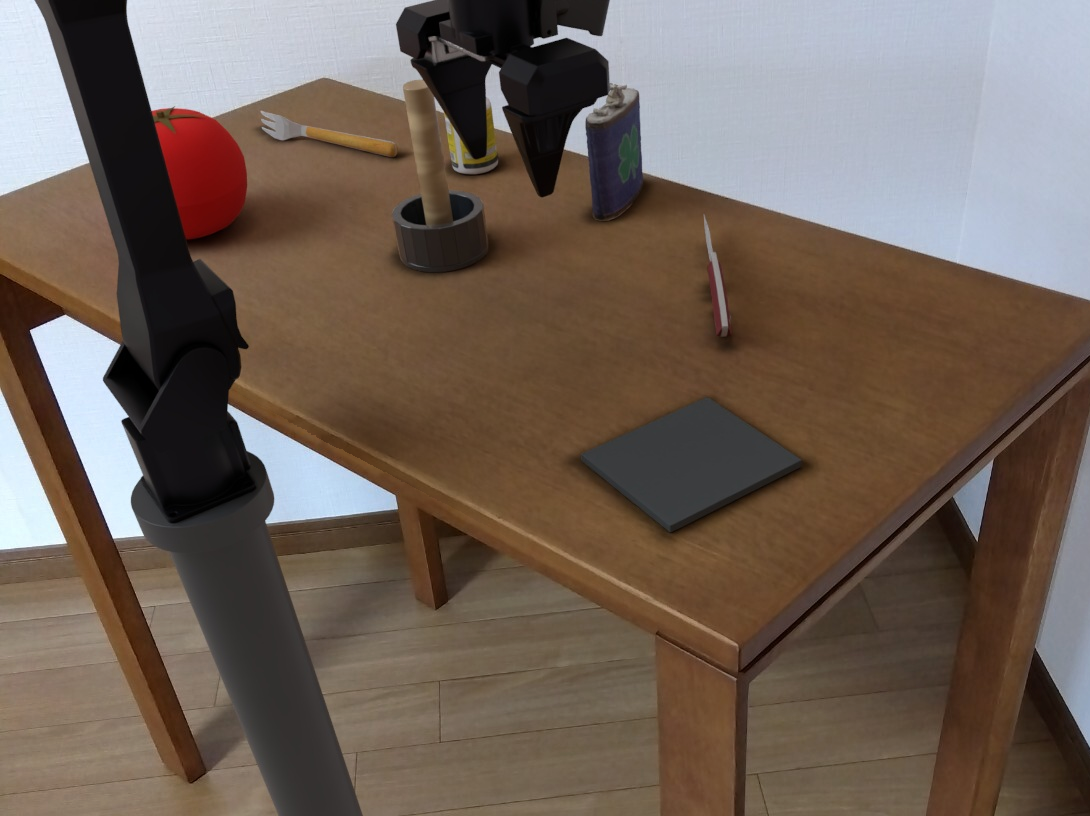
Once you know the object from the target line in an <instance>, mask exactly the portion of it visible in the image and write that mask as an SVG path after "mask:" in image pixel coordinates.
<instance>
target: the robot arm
mask: <svg viewBox="0 0 1090 816" xmlns="http://www.w3.org/2000/svg"><path fill="white" fill-rule="evenodd" d="M34 2H35V4H36V6H37V8H38V9H39V11H40V14H41V16H42V18H43V20H44V22H45V25H46V29H47V32H48V35H49V37H50V42H51V45H52V47H53V51H54V53H55V57H56V60H57V63H58V67H59V70H60V73H61V76H62V79H63V82H64V86H65V89H66V92H67V96H68V99H69V102H70V105H71V108H72V111H73V114H74V118H75V121H76V123H77V127H78V131H79V134H80V137H81V140H82V144H83V147H84V149H85V153H86V156H87V159H88V162H89V165H90V169H91V172H92V175H93V179H94V182H95V185H96V188H97V192H98V194H99V198H100V201H101V205H102V207H103V210H104V214H105V217H106V220H107V223H108V227H109V231H110V233H111V236H112V239H113V243H114V245H115V248H116V252H117V258H118V269H117V283H116V300H117V301H116V302H117V308H118V316H119V324H120V332H121V338H122V341H121V343H120V345H119V347H118V349H117V351H116V353H115V354H114V355H113V358H112V360H111V361H110V363H109V366H108V368H107V369H106V371H105V373H104V375H103V376H102V382H103V383H104V385H105V386H106V388H107V389H108V390H109V392H110V393H111V394H112V396H113V397H114V399H115V400H116V401H117V403H118V404H119V405H120V407H121V408H122V410H123V411H124V413H125V414H126V416H127V417H125V418H123V419H121V420H120V423H121V425H122V428H123V430H124V432H125V434H126V437H127V439H128V442H129V445H130V447H131V449H132V452H133V454H134V457H135V459H136V461H137V464H138V466H139V469H140V471H141V473H142V475H141V477H140V479H141V482H142V485H143V486H144V488H145V489H146V490H147V492H148V493H149V495H150V496H151V498H152V499H153V501H154V502H155V504H156V505H157V507H158V508H159V509H160V511H161V512H162V514H163V515H164V517H165V518H166V520H167V521H168V522H169V523H177V522H180V521H182V520H185V519H187V518H190V517H192V516H194V515H197V514H199V513H202V512H204V511H207V510H209V509H211V508H214V507H216V506H219V505H221V504H224V503H226V502H228V501H231V500H233V499H236V498H238V497H240V496H243V495H245V494H248V493H250V492H252V491H254V490H255V489H256V484H255V481H254V480H253V479H252V478H251V476H250V475H249V474H248V473H247V471H248V470H250V468H251V463H250V460H249V457H248V454H247V451H248V450H247V448H246V445H245V441H244V438H243V436H242V432H241V429H240V427H239V424H238V421H237V420H236V418H234V417H233V415H232V414H231V413H230V412H229V411H228V409H229V408H228V407H229V397H230V396H229V394H230V390H231V388H232V387H233V385H234V384H235V381H236V380H239V378H240V376H241V371H242V358H241V357H242V356H241V352H240V350H241V349H242V350H247V349H249V347H250V346H249V344H248V342H247V341H246V340H245V338H244V337H243V336H242V333H241V331H240V329H239V328H240V327H239V326H238V318H237V305H236V298H235V294H234V290H233V289H232V288H231V287H230V286H229V285H228V284H227V283H226V282H225V281H224V280H223V279H222V278H221V277H220V276H219V275H218V274H217V273H216V272H214V270H213V269H211V267H209V266H208V265H207V264H206V263H205V262H204V260H202V258H198V259H196V260H193V258H192V256H191V252H190V248H189V245H188V242H187V241H188V240H187V239H186V237H185V234H184V230H183V226H182V222H181V219H180V215H179V211H178V208H177V204H176V200H175V196H174V193H173V189H172V185H171V182H170V178H169V174H168V170H167V167H166V163H165V159H164V155H163V152H162V148H161V144H160V141H159V137H158V133H157V129H156V126H155V122H154V118H153V115H152V111H153V110H152V108H151V104H150V100H149V97H148V93H147V92H148V91H147V89H146V85H145V81H144V77H143V74H142V70H141V67H140V62H139V59H138V56H137V52H136V51H137V50H136V47H135V44H134V41H133V37H132V33H131V30H130V24H129V21H128V10H127V9H128V8H127V7H128V0H34ZM610 2H611V0H429V1H425V2H421V3H417V4H414V5H410V6H406V7H404V8H403V10H402V11H401V14H400V15H399V17H398V19H397V21H396V23H395V27H396V29H395V30H396V33H397V39H398V47H399V50H400V53H403V54H405V55H407V56H408V57H411V58H410V64H411V67H412V68H413V69H415V70H416V71H417V73H418V74H419V76H420V77H421V80H424V82H425V83H426V85H427V86H428V88H429V89H430V91H431V92H432V94H433V96H434V99H435V101H437V103H438V105H439V107H440V108H441V109H442V111H443V114H444V113H445V114H446V116H447V117H448V119H449V121H450V122H451V124H452V126H453V127H454V129H455V131H456V132H457V134H458V136H459V137H460V139H461V141H462V142H463V144H464V145H465V147H466V149H467V150H468V152H469V154H470V155H471V157H472V158H473V159H475V160H477V159H480V158H483V157H485V156H486V154H487V114H486V97H487V86H486V78H487V75H488V74H489V71H490V70H491V67H492V65H493V66H495V67H497V68H499V71H498V77H499V85H500V92H501V94H502V95H503V97H504V99H505V101H506V103H507V105H506V104H505V105H503V106H502V107H501V109H502V113H503V115H504V118H505V119H506V122H507V125H508V127H509V130H510V132H511V135H512V137H513V140H514V142H515V145H516V148H517V150H518V152H519V154H520V157H521V160H522V162H523V165H524V167H525V169H526V173H527V175H528V177H529V179H530V182H531V185H532V186H533V188H534V191H535V192H536V194H537V196H538V197H540V198H546V197H548V196H552V195H553V193H554V191H555V187H556V184H557V179H558V175H559V172H560V167H561V162H562V158H563V155H564V150H565V146H566V143H567V139H568V136H569V133H570V130H571V127H572V124H573V122H574V120H575V119H576V118H577V116H578V115H579V113H581V112H582V110H584V109H586V108H589V107H591V106H594V105H595V104H596V102H597V101H598V99H600V98H603V97H607V96H608V94H609V93H610V91H611V90H610V83H611V81H610V65H609V64H610V62H609V60H608V59H607V58H606V57H605V56H604V55H603V54H601V53H600V52H599V51H598V50H597V49H596V48H593V47H591V46H589V45H586V44H584V43H581V42H579V41H577V40H574V39H571V38H569V37H564V38H560V39H557V40H553V41H549V42H546V43H542V44H539V45H535V39H543V40H544V39H548V38H552V37H556V36H559V30H558V29H559V27H558V26H560V27H565V28H571V29H575V30H581V31H586V32H588V33H589V34H590V35H592V36H596V37H602V36H603V35H604V30H605V25H606V20H607V16H608V11H609V7H610ZM533 45H535V46H533Z"/></svg>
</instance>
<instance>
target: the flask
mask: <svg viewBox="0 0 1090 816" xmlns="http://www.w3.org/2000/svg"><path fill="white" fill-rule="evenodd" d="M640 110H641V104H640V92H639V90H638V89H636V88H633V87H628V85H627V84H625V85H621V84H616V83H612V82H610V92H609V94H608V95H607V96H606V97H605V104H604V105H602V106H601V107H599V108H593V110H592V112H591V113H589V114H588V115H587V116H586V117H585V125H584V126H585V136H586V148H587V158H588V159H587V160H588V167H589V168H588V170H589V172H588V173H589V182H590V191H591V200H592V201H591V202H592V203H591V205H592V217H593V218H594V221H601V222H606V221H611V220H613V219H614V220H615V219H616V218H618V217H619V216H621V215H622V214H623V213H624V212H626V211H627V210H628V209H630V207H632V205H633V204H634V203H635V200H636V199H637V198H638V196H639V195H640V194H641V192H642V190H643V186H644V174H643V155H642V134H641V132H642V131H641V111H640Z"/></svg>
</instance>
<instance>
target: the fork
mask: <svg viewBox="0 0 1090 816" xmlns="http://www.w3.org/2000/svg"><path fill="white" fill-rule="evenodd" d="M260 114H261V116H263V117H265V118H267V119H269V120H266V119H265V118H261V119H260V120H261V123H263V124H264V125H265V126H266V127H269V128H266V127H264V126H261V130H262V131H264V132H265V133H266V134H268V135H269V136H271V137H272V138H274V139H275V140H279V141H286V140H289V139H291V138H292V139H293V138H296V137H297V138H298V137H301V136H302V137H306V138H309V139H314V140H317V141H318V140H319V141H322V142H327V143H331V144H335V145H339V146H342V147H348V148H351V149H354V150H355V149H356V150H359V151H364V152H367V153H372V154H376V155H379V156H384V157H389V158H395V157H396V156H397V154H398V152H399V147H398V145H397V144H396V143H395V142H393V141H391V140H387V139H386V140H385V139H381V138H374V137H369V136H364V135H359V134H354V133H353V134H352V133H348V132H342V131H336V130H332V129H325V128H321V127H316V126H310V125H305V124H300V123H297V122H295V121H292V120H290V119H288V118H287V117H285V116H283V115H280V114H275V113H271V112H267V111H264V110H260ZM270 128H271V129H270Z"/></svg>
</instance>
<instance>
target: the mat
mask: <svg viewBox="0 0 1090 816" xmlns="http://www.w3.org/2000/svg"><path fill="white" fill-rule="evenodd" d="M580 461H581V462H582V463H584V464H585V466H587V467H588V468H590V469H591V470H592V471H593V472H594V473H596V474H597V475H598V476H600V478H602V479H603V480H604V481H606V482H607V483H608V484H609V485H611V487H613V488H614V489H616V490H617V491H618V492H619V493H620V494H621V495H623V496H624V497H626V498H627V499H628V500H629V501H630V502H631V503H633V504H634V505H635V506H637V507H638V508H639V509H640V510H642V511H643V512H644V513H645V514H646V515H648V516H649V517H650V518H651V519H653V521H655V522H656V523H657V524H659V525H660V526H661V527H662V528H664V529H665V530H666V531H668V532H669V534H670V533H674V532H675V531H677V530H679V529H681V528H683V527H686V525H689V524H691V523H693V522H695V521H697V520H699V519H701V518H703V517H705V516H707V515H709V514H711V513H713V512H714V511H717V510H718V509H720V508H723V507H725V506H727V505H728V504H729V505H730V503H733V502H734V501H736V500H739V499H740V498H743V497H744V496H746V495H749V494H751V493H752V492H754V491H757V490H758V489H760V488H762V487H764V486H766V485H768V484H770V483H772V482H774V481H777V480H778V479H780V478H782V477H784V476H786V475H788V474H790V473H792V472H795V471H796V470H798V469H800V468H802V465H803V459H802V458H800V457H799V456H797V455H796V454H794V453H792V451H790V450H788V449H786V447H783V446H782V445H780V444H779V443H777V442H776V441H774V440H773V439H771V438H770V437H768V436H767V435H765V434H764V433H763V432H761V431H759V430H758V429H756V428H755V427H754V426H752V425H750V424H749V423H748V422H745V421H744V420H743V419H741V418H740V417H738V416H737V415H735V414H733V413H732V412H731V411H729V410H728V409H727V408H725V407H723V406H722V405H720V404H719V403H717V402H716V401H714V400H713V399H711V398H710V397H708V396H706V397H703V398H701V399H700V400H697V401H695V402H693V403H691V404H688V405H686V406H683V407H682V408H680V409H679V408H678V409H677V410H675V411H673V412H671V413H668V414H666V415H664V416H662V417H660V418H657V419H655V420H653V421H651V422H649V423H646V424H644V425H642V426H640V427H637V428H635V429H633V430H631V431H628V432H626V433H624V434H622V435H620V436H618V437H615V438H613V439H611V440H609V441H607V442H604V443H602V444H600V445H598V446H595V447H593V448H591V449H589V450H587V451H584V452H582V453H581V454H580Z"/></svg>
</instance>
